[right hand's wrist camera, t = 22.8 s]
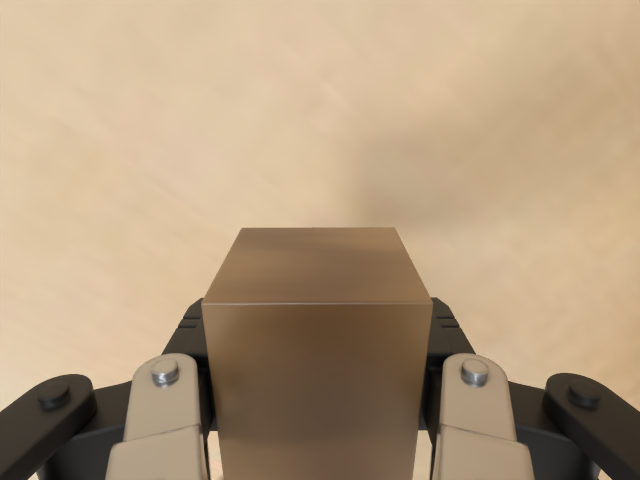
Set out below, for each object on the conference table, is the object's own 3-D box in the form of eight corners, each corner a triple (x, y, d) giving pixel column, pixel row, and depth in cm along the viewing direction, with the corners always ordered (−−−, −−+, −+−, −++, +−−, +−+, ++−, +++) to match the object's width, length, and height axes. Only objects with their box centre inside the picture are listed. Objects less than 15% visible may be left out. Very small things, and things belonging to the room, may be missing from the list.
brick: (252, 367, 14) (223, 486, 10) (241, 227, 12) (199, 302, 8) (385, 366, 14) (412, 486, 10) (395, 227, 12) (434, 302, 8)
